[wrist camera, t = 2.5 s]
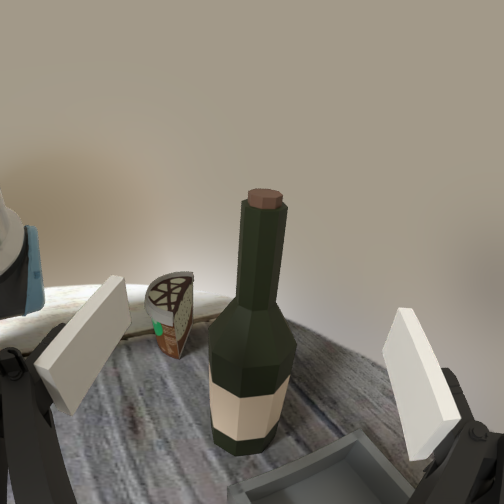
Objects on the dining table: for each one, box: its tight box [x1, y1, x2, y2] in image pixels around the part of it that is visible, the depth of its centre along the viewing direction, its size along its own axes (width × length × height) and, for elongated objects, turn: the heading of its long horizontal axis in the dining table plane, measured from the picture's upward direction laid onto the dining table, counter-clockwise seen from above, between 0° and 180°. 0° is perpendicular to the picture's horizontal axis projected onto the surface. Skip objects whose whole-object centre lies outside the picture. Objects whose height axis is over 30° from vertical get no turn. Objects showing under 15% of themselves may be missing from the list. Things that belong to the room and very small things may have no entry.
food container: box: [145, 272, 194, 359], centre depth 49 cm, size 12×6×10 cm, turn 175°
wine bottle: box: [208, 189, 297, 456], centre depth 29 cm, size 8×8×30 cm
